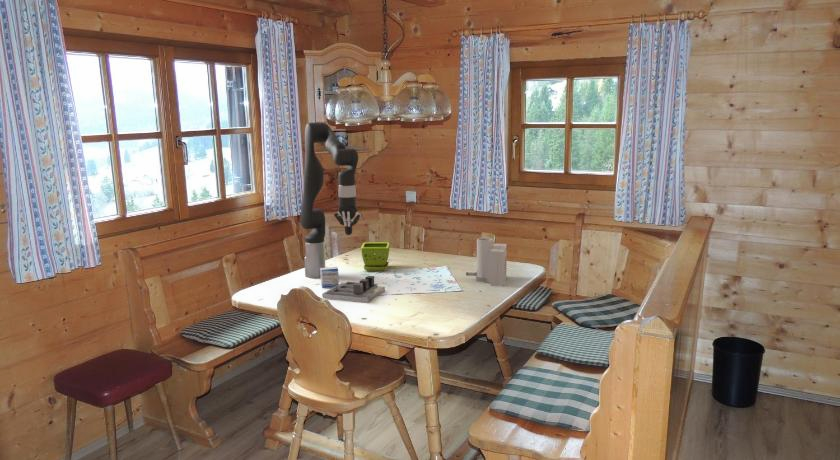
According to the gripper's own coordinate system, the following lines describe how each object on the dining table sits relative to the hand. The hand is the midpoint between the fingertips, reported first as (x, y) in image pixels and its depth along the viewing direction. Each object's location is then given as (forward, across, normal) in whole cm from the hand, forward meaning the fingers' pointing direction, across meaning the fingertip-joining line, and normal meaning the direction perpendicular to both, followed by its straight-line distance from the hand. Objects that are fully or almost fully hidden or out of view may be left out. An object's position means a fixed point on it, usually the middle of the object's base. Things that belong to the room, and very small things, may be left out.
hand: (348, 234), depth 272 cm
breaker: (+25, -7, +7) cm, 27 cm away
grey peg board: (+27, -2, +1) cm, 27 cm away
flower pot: (+27, +7, -43) cm, 51 cm away
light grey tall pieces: (+27, -52, -38) cm, 70 cm away
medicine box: (+27, +15, -8) cm, 32 cm away
